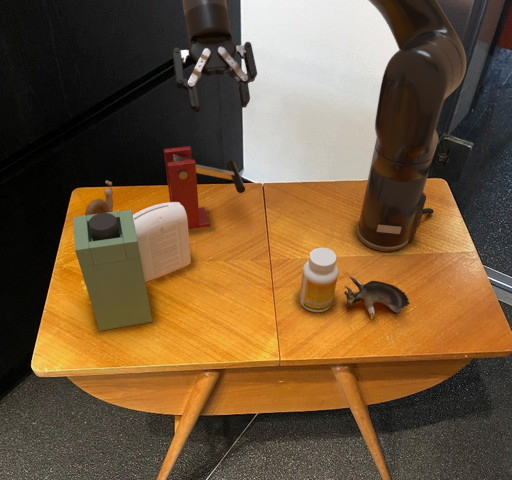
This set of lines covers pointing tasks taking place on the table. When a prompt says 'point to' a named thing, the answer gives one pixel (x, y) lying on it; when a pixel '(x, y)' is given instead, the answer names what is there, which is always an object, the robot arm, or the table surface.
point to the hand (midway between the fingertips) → (221, 108)
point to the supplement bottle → (319, 280)
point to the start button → (104, 227)
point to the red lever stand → (185, 186)
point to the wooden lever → (217, 172)
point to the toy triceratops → (377, 295)
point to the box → (113, 273)
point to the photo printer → (162, 239)
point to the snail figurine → (101, 203)
